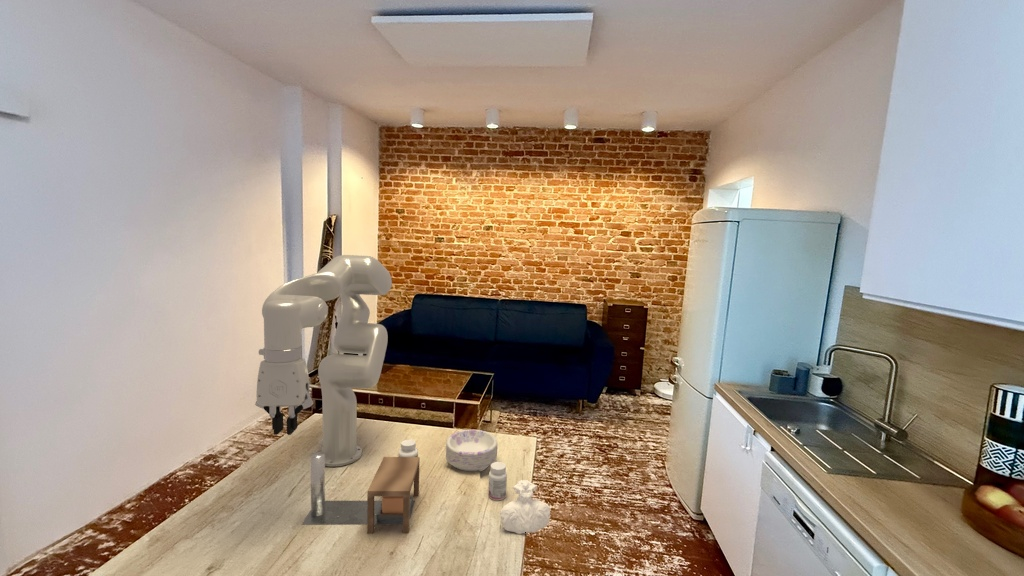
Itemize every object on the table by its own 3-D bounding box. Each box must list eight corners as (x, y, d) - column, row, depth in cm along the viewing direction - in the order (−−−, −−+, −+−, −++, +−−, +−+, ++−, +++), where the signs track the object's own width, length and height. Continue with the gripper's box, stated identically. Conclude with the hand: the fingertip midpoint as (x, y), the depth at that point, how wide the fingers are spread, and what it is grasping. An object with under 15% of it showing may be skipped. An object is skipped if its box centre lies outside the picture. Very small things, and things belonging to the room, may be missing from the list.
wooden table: (328, 552, 89) (327, 502, 88) (360, 489, 112) (360, 449, 111) (468, 550, 91) (469, 502, 90) (471, 489, 114) (472, 449, 113)
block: (382, 518, 99) (382, 498, 98) (386, 505, 104) (387, 486, 103) (403, 518, 99) (403, 498, 99) (407, 505, 104) (407, 486, 104)
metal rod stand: (301, 528, 96) (300, 465, 94) (317, 504, 105) (316, 445, 103) (408, 528, 97) (409, 465, 96) (415, 504, 106) (415, 446, 105)
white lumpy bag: (548, 531, 102) (542, 480, 108) (555, 530, 95) (549, 476, 101) (498, 536, 100) (496, 483, 105) (503, 534, 93) (500, 479, 99)
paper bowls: (463, 485, 116) (464, 458, 115) (436, 462, 128) (436, 437, 127) (507, 468, 125) (508, 443, 125) (478, 448, 137) (478, 424, 136)
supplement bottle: (412, 481, 117) (413, 448, 116) (394, 478, 118) (395, 445, 117) (420, 471, 122) (421, 439, 121) (403, 469, 123) (403, 437, 122)
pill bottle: (487, 490, 114) (488, 460, 113) (505, 490, 114) (506, 460, 114) (488, 501, 109) (489, 470, 108) (506, 500, 110) (508, 470, 109)
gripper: (237, 358, 92) (239, 439, 94) (313, 359, 93) (314, 440, 95) (256, 349, 99) (258, 425, 101) (326, 351, 100) (326, 425, 102)
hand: (285, 431), depth 98 cm, fingers closed
